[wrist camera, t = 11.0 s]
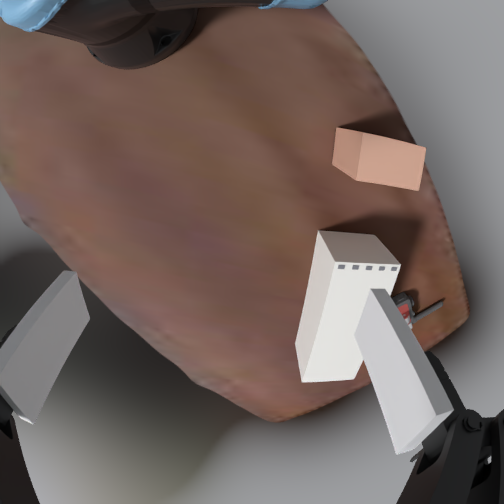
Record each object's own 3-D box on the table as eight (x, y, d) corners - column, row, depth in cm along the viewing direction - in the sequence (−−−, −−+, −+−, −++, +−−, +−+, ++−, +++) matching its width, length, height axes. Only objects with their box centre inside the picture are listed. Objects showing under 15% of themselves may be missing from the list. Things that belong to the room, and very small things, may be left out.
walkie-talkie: (354, 347, 51) (440, 302, 47) (360, 363, 47) (450, 315, 43) (341, 319, 47) (436, 270, 43) (348, 336, 44) (448, 283, 39)
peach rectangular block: (336, 127, 32) (362, 132, 24) (390, 138, 33) (426, 147, 25) (331, 164, 35) (356, 180, 27) (385, 172, 35) (418, 190, 27)
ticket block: (318, 230, 39) (335, 262, 31) (375, 234, 39) (402, 265, 31) (295, 343, 49) (301, 382, 41) (342, 342, 50) (354, 379, 41)
